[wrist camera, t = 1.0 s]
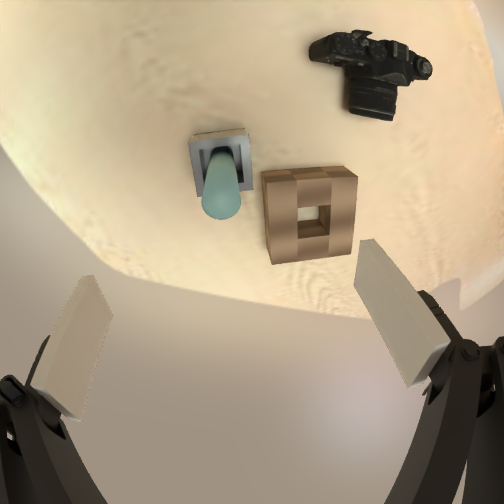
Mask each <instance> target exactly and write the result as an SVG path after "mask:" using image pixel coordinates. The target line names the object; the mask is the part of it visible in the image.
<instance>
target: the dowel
mask: <svg viewBox="0 0 504 504" xmlns="http://www.w3.org/2000/svg"><path fill="white" fill-rule="evenodd" d="M240 205H241V198H240V191H239V185H238V179H237V173H236V167H235V160H234V154H233V151H232V150H231V148H229V147H228V146H220V147H215V148H214V149H213V150H212V152H211V156H210V160H209V165H208V170H207V175H206V180H205V185H204V190H203V195H202V207H203V210H204V211H205V213H206V214H207V215H209V216H210V217H212V218H214V219H219V220H223V219H228V218H230V217H232V216H234V215H235V214H236V213H237V211H238V210H239V208H240Z"/></svg>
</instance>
